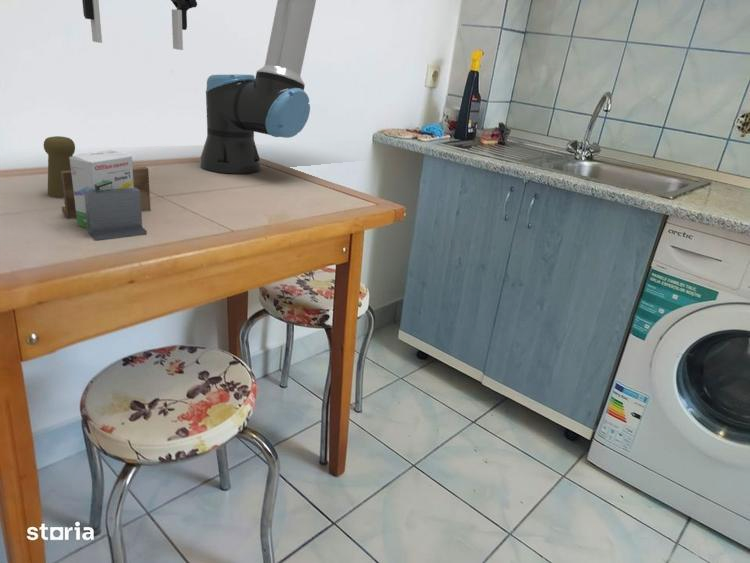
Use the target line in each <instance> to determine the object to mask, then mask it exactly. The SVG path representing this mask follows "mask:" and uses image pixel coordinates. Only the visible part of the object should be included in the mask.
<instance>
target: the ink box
mask: <svg viewBox="0 0 750 563" xmlns="http://www.w3.org/2000/svg"><path fill="white" fill-rule="evenodd" d="M69 158H70V167H71V174H72V183H73V191H74V199H75V208H76V216H77V218H76V224H77V226H80V227H84V228H87V229H88V225H87V216H86V206H85V197H84V191H94V190H109V189H123V188H134V183H133V169H132V168H133V158H132V156H131V155H129V154H125V153H122V152H119V151H116V150H103V151H101V150H100V151H96V152H94V151H93V152H88V153H79V154H73V155H72V157H69Z"/></svg>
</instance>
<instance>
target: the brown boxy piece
mask: <svg viewBox="0 0 750 563" xmlns="http://www.w3.org/2000/svg"><path fill="white" fill-rule="evenodd" d="M132 169H133V183H134V188H137V189H138V190H140V198H141V212H148V211H149V212H150V211H151V210H152V209H151V192H150V177H149V168H147V167H146V166H139V167H132ZM61 176H62V185H63V193H64V198H63V200H64V206H61V212H62V213H64V215H65V216H66V218H68V219H77V216H76V208H75V199H74V191H73V183H72V174H71V170H69V171H61Z"/></svg>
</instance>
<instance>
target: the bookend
mask: <svg viewBox="0 0 750 563" xmlns="http://www.w3.org/2000/svg"><path fill="white" fill-rule="evenodd" d="M84 197H85V206H86V216H87V225H88V228H87V232H88V234H89V235H90V236H91V238H92V239H93V240H94V241H101V240H102V241H103V240H109V239H110V240H111V239H119V238H128V237H136V236H143V235H147V233H148V231H147V230H146V229H145V228H144V227H143V216H142V211H141V198H140V190H138V189H137V188H123V189H109V190H94V191H84Z"/></svg>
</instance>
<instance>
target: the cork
mask: <svg viewBox="0 0 750 563" xmlns="http://www.w3.org/2000/svg"><path fill="white" fill-rule="evenodd" d="M75 144H76V143H75V142H74V141H73V139H71V138H70V137H66V136H58V135H57V136H56V135H55V136H50V137H47V138H45V139H44V141H43V149H44V151H45V153H46V154H47V155H48V156H47V157H48V158H47V159H48V160H47V196H48V197H51V198H56V199H64V193H63V185H62V176H61V171H69V170H71V167H70V158H69V157H72V155H75V151H76V145H75Z"/></svg>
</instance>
